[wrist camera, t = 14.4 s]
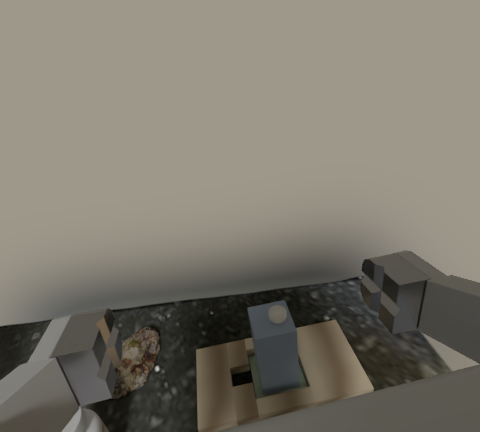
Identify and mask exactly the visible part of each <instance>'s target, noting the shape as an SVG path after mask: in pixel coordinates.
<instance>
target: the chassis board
mask: <svg viewBox="0 0 480 432" xmlns="http://www.w3.org/2000/svg"><path fill="white" fill-rule="evenodd" d="M296 330H297V344H298V360H299V362H298V365H299V386H300V387H295V388H291V389H287V390H282V391H278V392H274V393H270V394H265V395H263V391H262V387H261V382H260V378H259V373H258V369H257V364H256V359H255V353H254V346H253V340H252V338H248V339H243V340H239V341H234V342H229V343H225V344H220V345H215V346H211V347H206V348H202V349H197V350H196V364H197V410H198V431H199V432H216V431H220V430H224V429H228V428H232V427H236V426H240V425H244V424H248V423H251V422H255V421H259V420H263V419H267V418H271V417H275V416H279V415H283V414H287V413H291V412H295V411H299V410H303V409H307V408H311V407H314V406H318V405H322V404H326V403H330V402H334V401H338V400H342V399H346V398H350V397H354V396H358V395H362V394H366V393H370V392H373V391H374V388H373V386H372V384H371V382H370V380H369V379H368V377H367V375H366V373H365V371H364V370H363V368H362V366H361V364H360V363H359V361H358V359H357V357H356V355H355V354H354V352H353V350H352V348H351V346H350V345H349V343H348V341H347V339H346V337H345V336H344V334H343V332H342V330H341V328H340V327H339V325H338V323H337V321H336V320H331V321H327V322H322V323H317V324H313V325H308V326H304V327H299V328H296ZM248 358H249V361H248ZM249 363H250V366H249ZM299 363H300V364H299ZM300 366H301V367H300ZM250 368H251V373H252V378H253V382H252V383H248V384H243V385H239V386H235V387H233V383H232V375H234V374H238V373H243V372H247V371H250ZM301 368H302V370H301ZM302 371H303V373H302ZM303 374H304V375H303ZM304 377H305V378H304ZM305 380H306V381H305ZM306 382H307V384H306ZM253 383H254V387H253ZM307 385H308V387H307ZM254 388H255V392H254ZM255 393H256V397H255Z"/></svg>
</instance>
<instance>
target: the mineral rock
mask: <svg viewBox="0 0 480 432" xmlns="http://www.w3.org/2000/svg"><path fill="white" fill-rule="evenodd" d="M159 339H160V338H159V336H158V332H156V331H155V329H154V328H153V329H152V328H150V327H145V328H143V329H142V330H139V331H138V332H137V333H136V334H133V336H131V337H130V338H128V339H126V340H125V341H124V342H123V343H122V358H121V362H120V364H119V365H118V366H117V367H116V368H115V371H116V374H117V380H116V384H115V388H114V393H113V397H112V399H118V398H120V397H121V396H122V395H123V396H125V395H127V394H128V393H130V392H132V391H133V390H135V389H139V388H140V387H141V386H143V385H144V384H143V383H144V382H146V381H147V377H148V375H149V374H150V371H151V370H152V369H153V367H154V363H155V362H156V357H157V355H158V353H159V351H160V345H159Z"/></svg>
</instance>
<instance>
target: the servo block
mask: <svg viewBox="0 0 480 432" xmlns="http://www.w3.org/2000/svg"><path fill="white" fill-rule="evenodd" d="M247 309H248V315H249V321H250V327H251V334H252V340H253V346H254V353H255V359H256V364H257V369H258V373H259V378H260V382H261V387H262V391H263V395H265V394H270V393H274V392H278V391H282V390H287V389H291V388H295V387H300V386H299V365H298V344H297V330H296V327H295V325H294V322H293V320H292V317H291V315H290V312H289V310H288V307H287V304H286V302H285V300H282V301H277V302H273V303H268V304H263V305H258V306H253V307H249V308H247Z"/></svg>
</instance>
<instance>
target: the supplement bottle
mask: <svg viewBox="0 0 480 432" xmlns="http://www.w3.org/2000/svg"><path fill="white" fill-rule="evenodd" d="M62 432H109V431H108V429H107V428H106V426H105V425H104V423H103V422H102V420H101V419H100V417H99V416H98V415H97V414H96V413H95V412H94V411H92V410H89V409H83V408H82V407H81V406H79V410H78V411H77V412H76V414H75V415H74V416H73V418H72V419H71V420H70V421H69V423H68V424H67V425H66V427H65V428H64V429H63V430H62Z"/></svg>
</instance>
